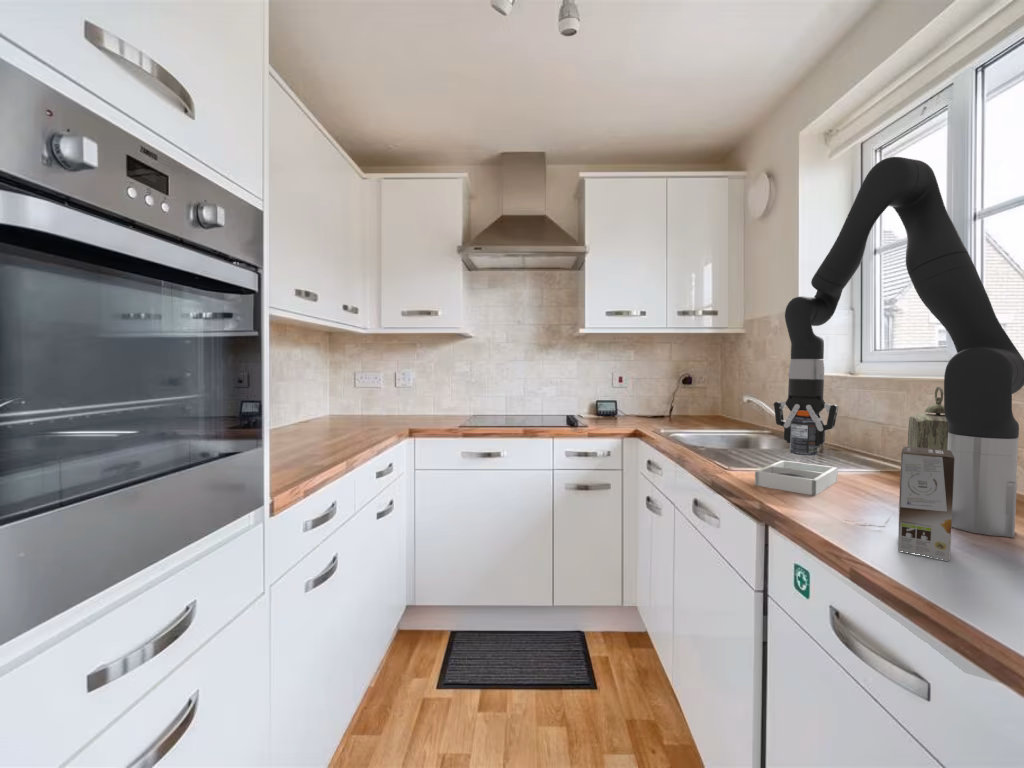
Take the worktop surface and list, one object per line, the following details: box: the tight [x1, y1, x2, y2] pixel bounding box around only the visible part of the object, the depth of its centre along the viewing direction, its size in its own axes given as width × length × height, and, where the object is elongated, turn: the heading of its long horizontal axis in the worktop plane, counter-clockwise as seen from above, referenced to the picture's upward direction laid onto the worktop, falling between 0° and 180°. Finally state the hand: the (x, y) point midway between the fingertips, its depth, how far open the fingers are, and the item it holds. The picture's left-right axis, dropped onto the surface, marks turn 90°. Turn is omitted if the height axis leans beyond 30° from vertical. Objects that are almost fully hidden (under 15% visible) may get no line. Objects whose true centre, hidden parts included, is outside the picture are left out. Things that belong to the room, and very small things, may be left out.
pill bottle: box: [789, 410, 819, 457], centre depth 120 cm, size 6×6×11 cm
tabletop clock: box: [907, 386, 948, 450], centre depth 123 cm, size 14×9×25 cm, turn 148°
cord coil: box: [780, 473, 806, 478], centre depth 114 cm, size 6×6×2 cm
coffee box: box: [897, 446, 955, 561], centre depth 78 cm, size 9×6×16 cm
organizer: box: [754, 460, 839, 496], centre depth 117 cm, size 13×20×4 cm, turn 135°
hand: (803, 444), depth 121 cm, fingers closed on pill bottle, 6 cm apart
